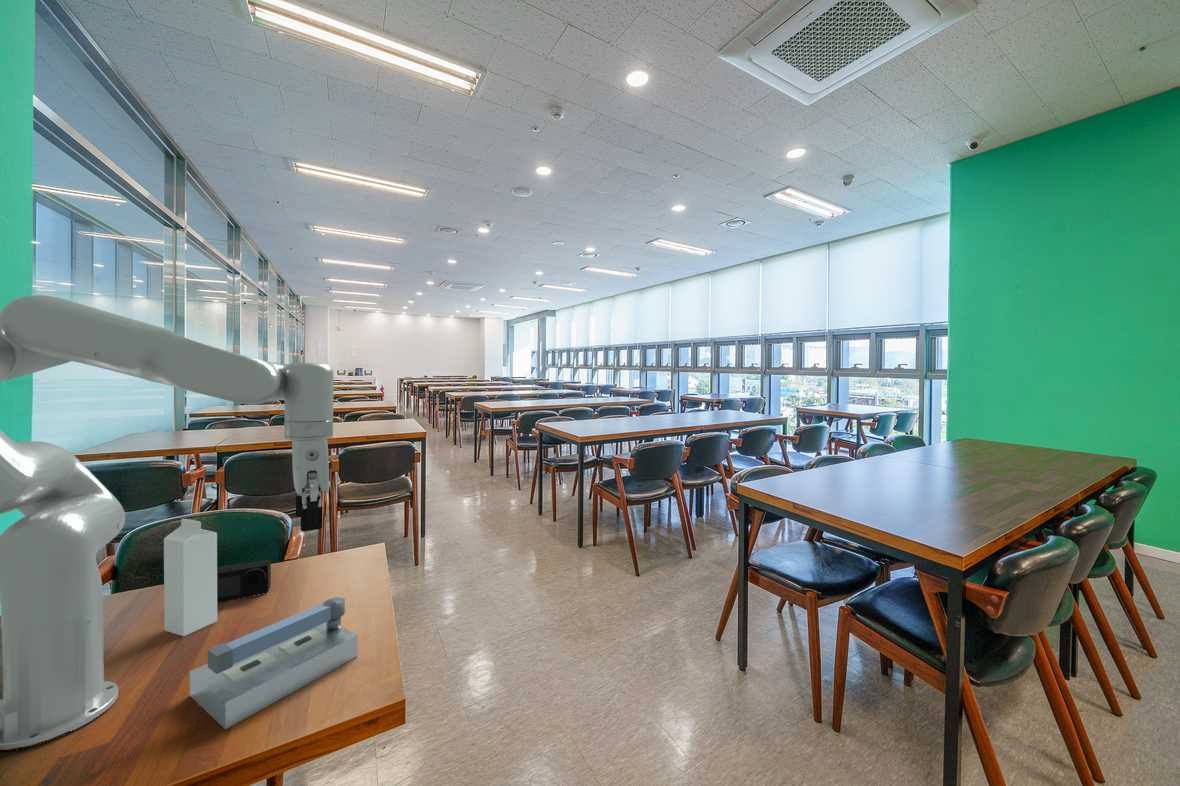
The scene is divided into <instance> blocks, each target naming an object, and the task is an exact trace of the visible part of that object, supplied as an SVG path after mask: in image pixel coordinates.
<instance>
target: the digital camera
mask: <svg viewBox="0 0 1180 786" xmlns="http://www.w3.org/2000/svg"><path fill="white" fill-rule="evenodd" d="M271 562H272V560H271V558H270V559H261V560H254V561H249V562H247V561H246V562H242V563H241V562H240V563H236V564H229V565H223V566H217V604H218V603H224V602H229V600H230V601H234V600H233V599H235V600H239V599H238V598H241V599H244V598H243V597H247V598H250V597H249V596H252V597H254V596H253V595H257V596H259V595H258V594H263V593H267V592H268V591H269V592H270V589H271V586H270V585H271V584H272V583H271V582H272V581H271V579H272V578H271V570H272V569H271V568H272V566H271V564H272V563H271ZM269 588H270V589H269ZM269 592H268V593H269ZM263 595H264V594H263Z"/></svg>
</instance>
